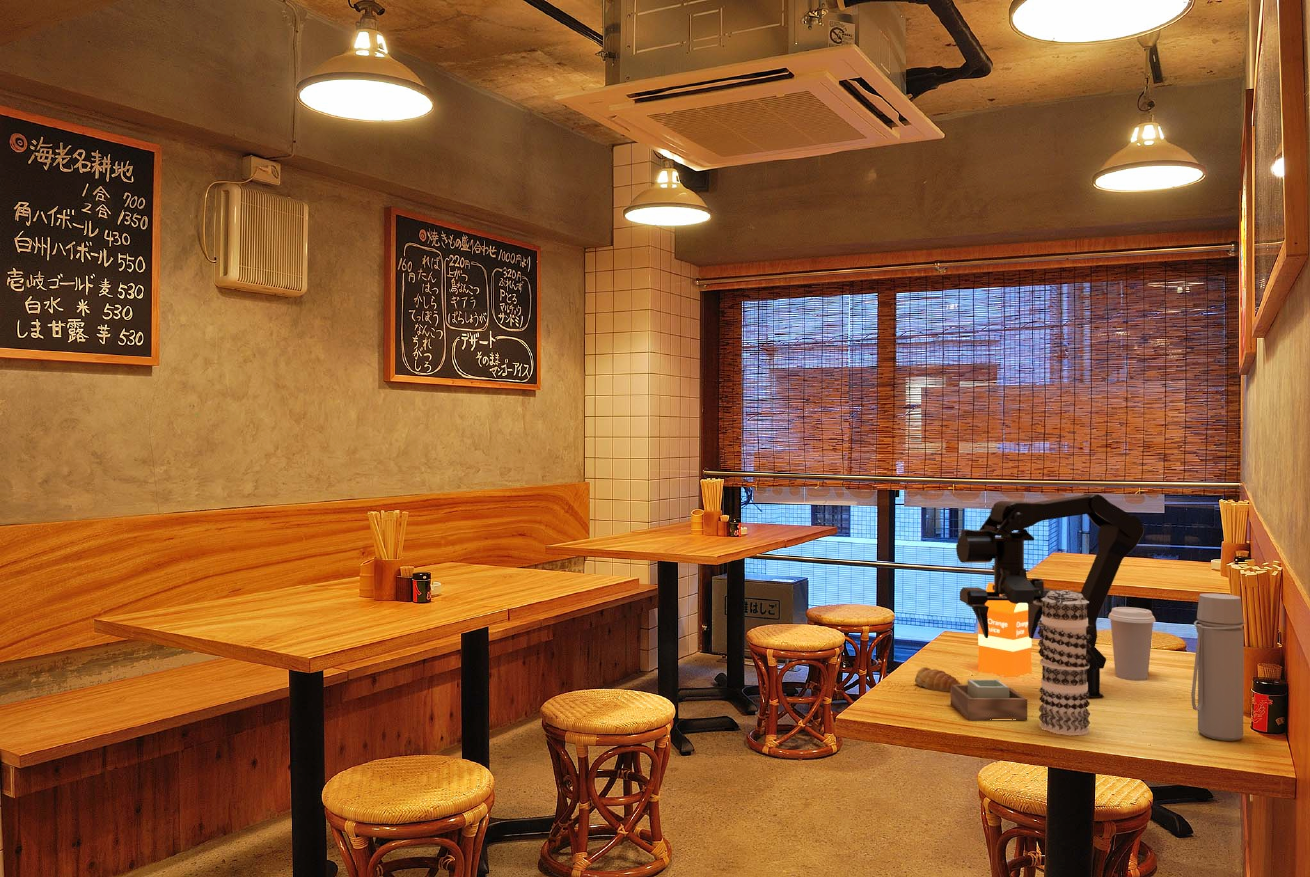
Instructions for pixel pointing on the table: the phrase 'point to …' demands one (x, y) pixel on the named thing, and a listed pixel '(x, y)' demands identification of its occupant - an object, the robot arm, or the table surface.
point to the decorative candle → (1064, 663)
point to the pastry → (935, 679)
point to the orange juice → (1005, 639)
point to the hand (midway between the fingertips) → (1008, 638)
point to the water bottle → (1219, 667)
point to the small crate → (987, 689)
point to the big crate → (988, 705)
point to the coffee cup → (1131, 641)
